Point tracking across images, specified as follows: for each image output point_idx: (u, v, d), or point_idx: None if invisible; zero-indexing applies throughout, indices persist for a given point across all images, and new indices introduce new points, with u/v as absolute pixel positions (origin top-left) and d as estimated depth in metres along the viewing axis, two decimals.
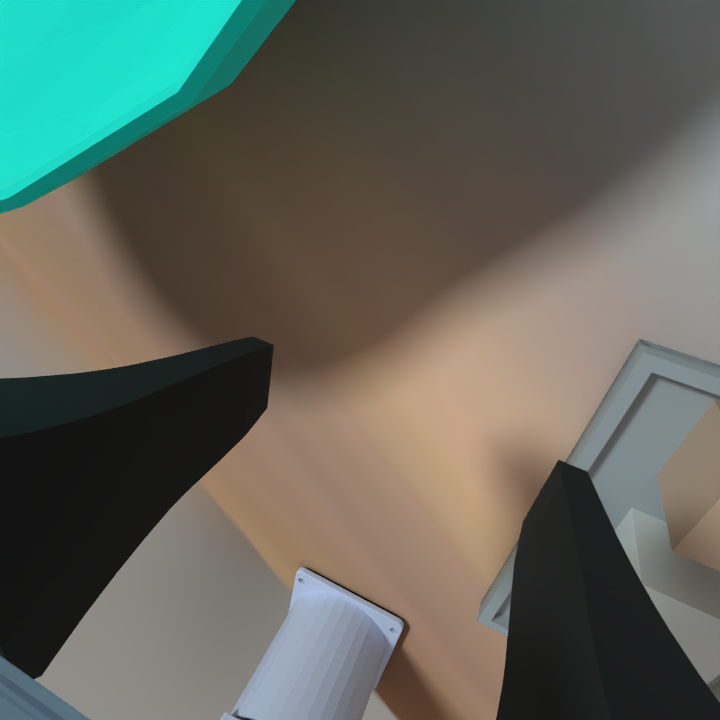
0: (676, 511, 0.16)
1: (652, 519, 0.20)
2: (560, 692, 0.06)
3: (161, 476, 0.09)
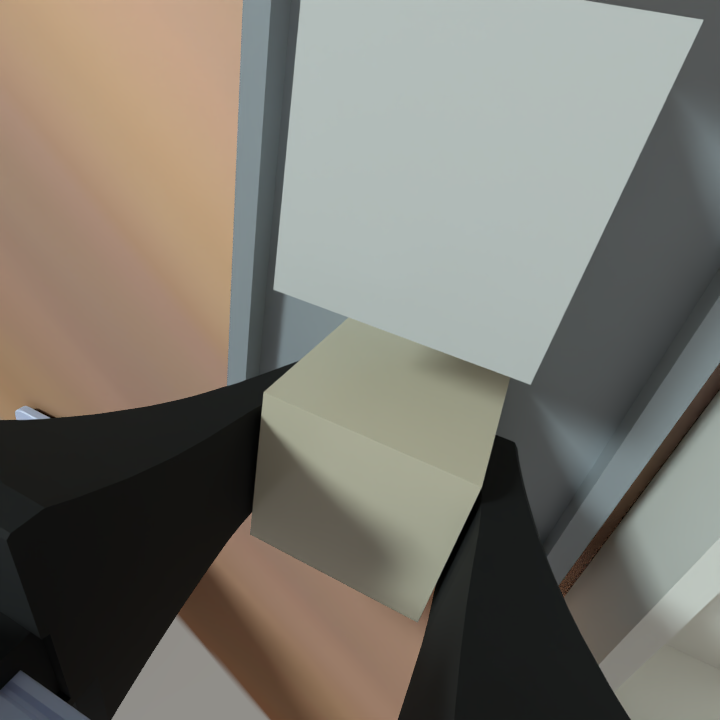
0: None
1: None
2: (446, 632, 0.06)
3: (224, 509, 0.09)
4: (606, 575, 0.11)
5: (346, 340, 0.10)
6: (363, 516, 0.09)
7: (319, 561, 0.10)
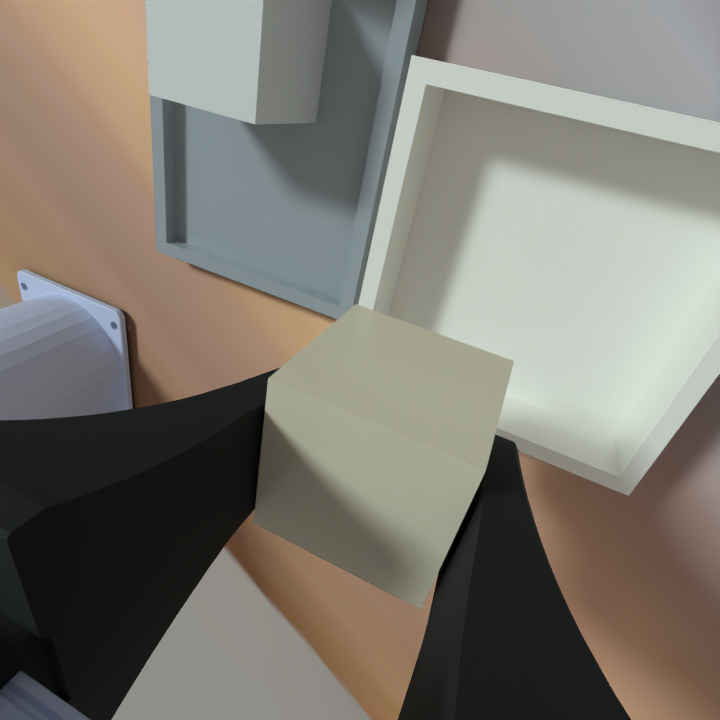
0: None
1: None
2: (446, 631, 0.06)
3: (224, 509, 0.09)
4: None
5: (350, 329, 0.10)
6: (367, 502, 0.09)
7: (322, 549, 0.10)
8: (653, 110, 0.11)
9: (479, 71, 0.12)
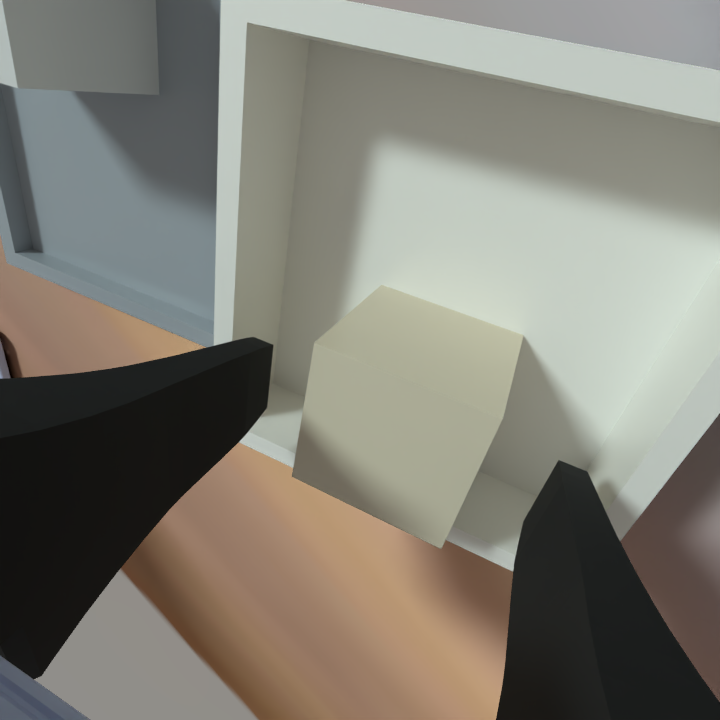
0: None
1: None
2: (560, 692, 0.06)
3: (161, 476, 0.09)
4: None
5: (378, 305, 0.12)
6: (397, 452, 0.10)
7: (354, 497, 0.11)
8: (571, 47, 0.07)
9: None
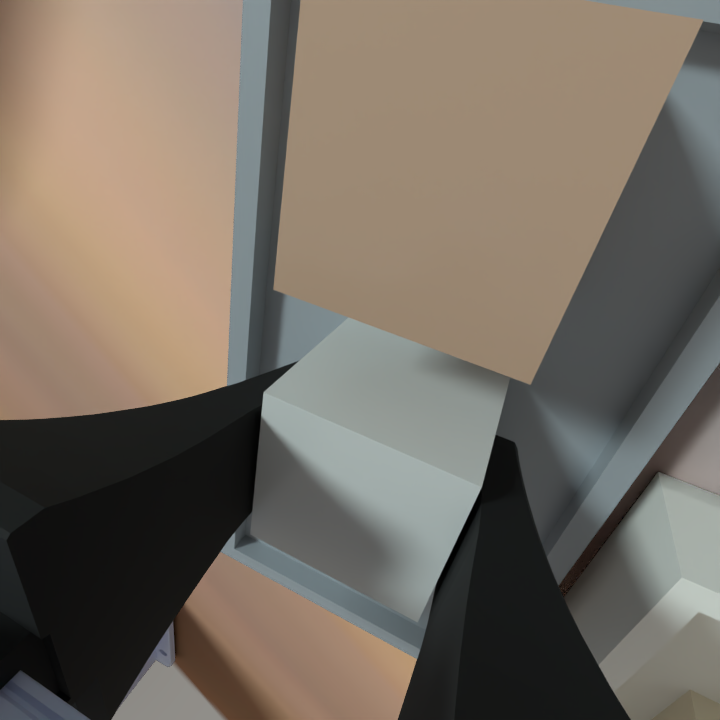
0: None
1: None
2: (446, 631, 0.06)
3: (224, 509, 0.09)
4: None
5: None
6: None
7: None
8: None
9: None
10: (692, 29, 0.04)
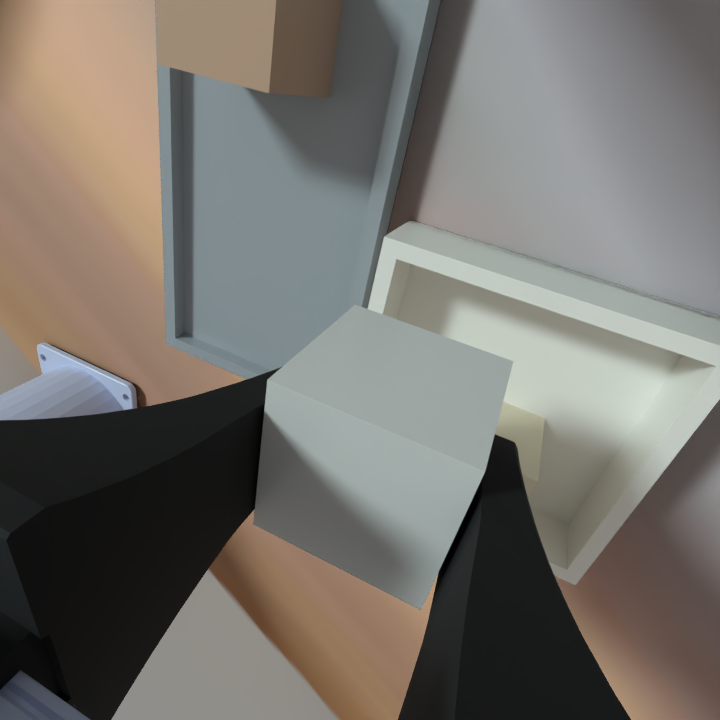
0: None
1: (382, 318, 0.11)
2: (446, 632, 0.06)
3: (224, 509, 0.09)
4: None
5: None
6: None
7: None
8: (578, 301, 0.14)
9: (439, 255, 0.15)
10: None
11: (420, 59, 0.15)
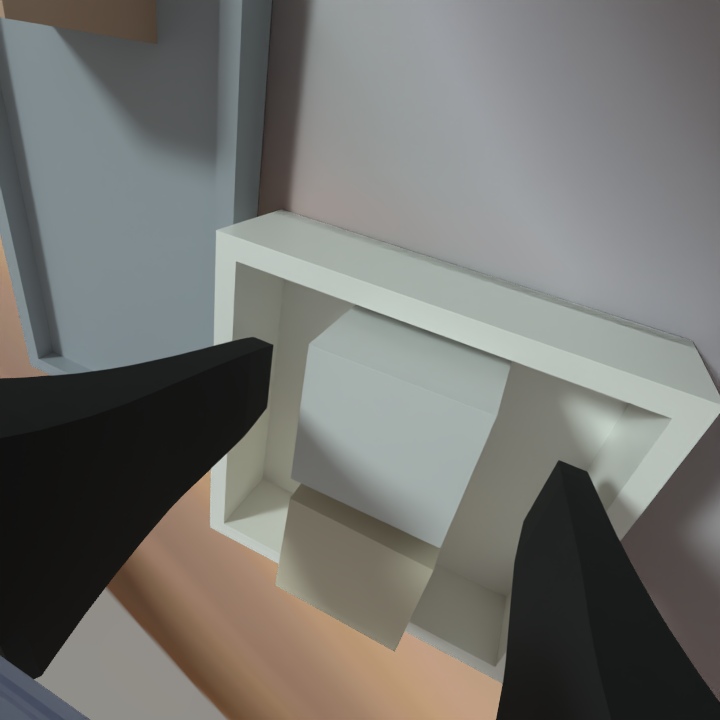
0: None
1: None
2: (561, 692, 0.06)
3: (161, 476, 0.09)
4: None
5: None
6: (357, 580, 0.12)
7: (325, 607, 0.14)
8: (473, 321, 0.10)
9: (286, 256, 0.11)
10: None
11: None
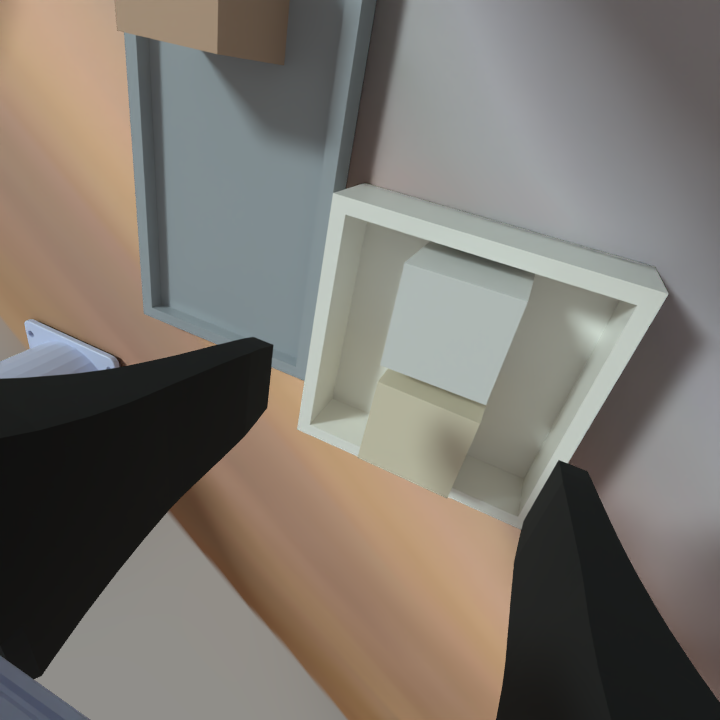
0: None
1: None
2: (559, 691, 0.06)
3: (161, 476, 0.09)
4: None
5: None
6: (423, 442, 0.18)
7: (396, 469, 0.19)
8: (510, 248, 0.15)
9: (383, 209, 0.16)
10: None
11: (363, 24, 0.16)
